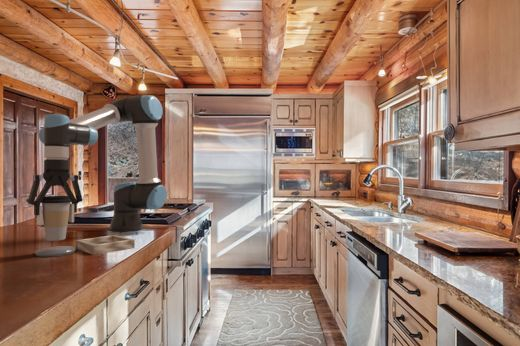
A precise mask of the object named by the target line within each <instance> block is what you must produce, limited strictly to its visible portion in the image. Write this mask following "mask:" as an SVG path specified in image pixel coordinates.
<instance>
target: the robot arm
mask: <svg viewBox="0 0 520 346" xmlns="http://www.w3.org/2000/svg"><path fill="white" fill-rule="evenodd" d="M163 114H164V113H163V106H162V104H161V102H160V100H159V99H158V98H157V97H156V96H155V95H150V94H149V95H148V94H147V95H146V94H141V95H134V96H126V97H121V98H119V99H117V100H113V101H112V102H109V103H106V104H104V105H103V107H102V108H99V109H96V110H94V111H91V112H88V113H85V114H83V115H79V116H78V117H74V118H72V119H70V117H69V116H68V115H65V114H60V113H59V114H58V113H52V114H51V113H50V114H46V115H45V117H44V122H43V123H44V124H43V125H44V126H43V127H42V128H40V130H39V131H38V139H39V140H40V143H42V144H43V145H44V146H43V149H44V150H43V151H44V152H43V158H45V159H44V160H43V173H42V174H33V175H32V179H33V180H32V181H33V182H32V186H31V189H30V192H29V196H28V200H27V204H28V205H32V206H33V215H34V216H36V224H37V226H43V214H42V211H43V206H42V203H41V202H42V200H43V199H44V197H45V196H47V193H48V191H49V190H50V189H51V187H56V186H59V187H62V189H63V190H64V192H65V194H66V196H69V197H70V199H71V201H72V202H70V206H69V218H68V223H74V222H75V214H76V213H77V211H78V210H77V209H78V204H79V203H81V202H83V200H84V199H83V196H82V192H81V189H80V188H81V187H80V184H79V175H78V174H70V172H69V171H70V161H69V160H68V159H69V158H70V146H93V145H95V144H96V143H97V142H98V139H99V134H98V133H99V132H98V131H97V130H99V129H100V128H103V127H106V126H108V125H110V124H112V125H116V124H119V123H124V122H125V123H126V122H131V124H132V126H134V128H135V132H136V150H137V166H138V180H137V181H132V182H131V181H129V182H123V183H117V184H115V185H114V188H113V217H112V219H111V222H110V224H109V231H111V232H133V231H134V232H135V231H140V230H143V222H142V218H141V216H140V209H141V210H150V211H151V210H159V209H161V208H162V207H163V206H164V204H165V203H166V201H167V197H168V190H167V188H166V186H164V185H162V180H161V179H160V178H159V177H158V176H159V174H158V159H157V157H158V156H157V155H158V154H157V143H156V142H157V141H156V139H157V137H156V128H157V126H158V125H159V120H161V119H162V116H163ZM42 179H43V180H44V181H45V183H44V185H43V187H42V188H41V191H40V192H39V194H38V190H39V186H40V182H41V181H42ZM69 179H70V181H71V184H72V189H73V191H74V193H73V191H72V189H71V188H70V185H69V183H68V180H69ZM37 194H38V195H37Z"/></svg>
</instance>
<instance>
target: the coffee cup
mask: <svg viewBox="0 0 520 346" xmlns="http://www.w3.org/2000/svg"><path fill="white" fill-rule="evenodd" d="M71 202H72V201H71V199H70V197H69V196H67V195H45V197H44V199H43V200H42V202H41V206H43V211H42V224H43V227H44V234H45V236H44V237H45V241H47V242H55V241H56V242H58V241H63V240H66V236H67V230H68V229H67V228H68V225H69V206H70V204H71Z"/></svg>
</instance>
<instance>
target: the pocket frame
mask: <svg viewBox="0 0 520 346" xmlns="http://www.w3.org/2000/svg"><path fill="white" fill-rule="evenodd" d="M135 241H136V240H135V239H133V238H128V237H125V236H120V235H118V234H117V235H116V234H113V235H105V236H98V237H97V236H96V237H92V238H84V239H76V240H75V248H76V250H79V251H81V252H85V253H87V254H91V255H94V256H95V255H102V254H107V253H113V252H119V251H123V250H131V249H135V245H136V244H135Z"/></svg>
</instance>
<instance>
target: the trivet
mask: <svg viewBox="0 0 520 346" xmlns="http://www.w3.org/2000/svg"><path fill="white" fill-rule="evenodd" d="M76 250H77V249H76V246H71V245H55V246H47V247H44V248H43V247H42V248H38V249H36V250H35V256H37V257H38V258H39V257H40V258H53V257H54V258H55V257H61V256H68V255H71V254H73V253H74V254H75V253H76Z"/></svg>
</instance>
